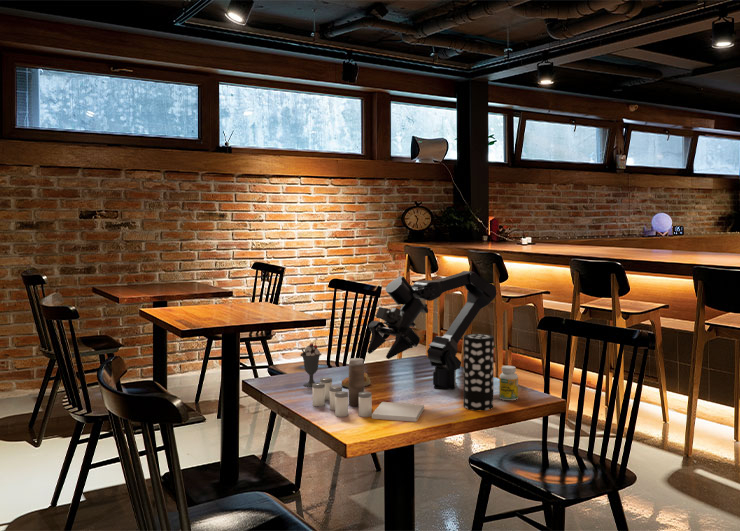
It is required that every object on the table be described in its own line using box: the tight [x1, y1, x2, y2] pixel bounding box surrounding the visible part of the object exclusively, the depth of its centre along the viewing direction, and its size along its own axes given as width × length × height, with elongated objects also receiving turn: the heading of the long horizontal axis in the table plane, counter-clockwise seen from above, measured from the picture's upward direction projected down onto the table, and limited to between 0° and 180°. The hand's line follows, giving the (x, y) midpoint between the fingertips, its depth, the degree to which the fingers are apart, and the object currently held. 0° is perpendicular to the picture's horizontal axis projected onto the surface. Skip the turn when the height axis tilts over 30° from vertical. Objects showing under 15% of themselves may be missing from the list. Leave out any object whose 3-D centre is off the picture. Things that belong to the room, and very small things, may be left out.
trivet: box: [371, 401, 425, 422], centre depth 177 cm, size 12×12×1 cm
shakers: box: [311, 377, 373, 418], centre depth 182 cm, size 8×24×6 cm, turn 35°
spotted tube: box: [462, 333, 495, 411], centre depth 183 cm, size 8×8×20 cm
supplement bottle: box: [498, 365, 519, 401], centre depth 191 cm, size 5×5×10 cm
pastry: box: [341, 372, 372, 389], centre depth 208 cm, size 9×7×4 cm
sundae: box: [300, 337, 322, 388], centre depth 208 cm, size 7×7×15 cm
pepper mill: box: [348, 357, 365, 408], centre depth 185 cm, size 4×4×13 cm
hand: (377, 355), depth 189 cm, fingers open, 9 cm apart
